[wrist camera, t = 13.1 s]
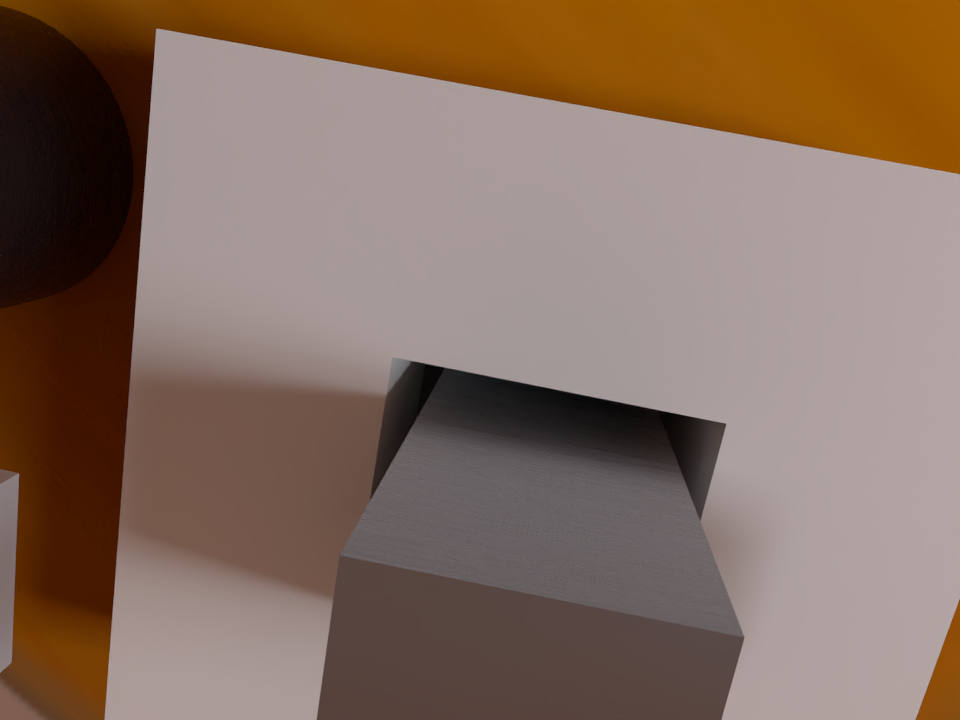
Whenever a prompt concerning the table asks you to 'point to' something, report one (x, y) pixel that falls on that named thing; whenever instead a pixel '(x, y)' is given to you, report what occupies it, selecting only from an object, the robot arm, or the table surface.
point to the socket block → (525, 364)
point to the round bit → (56, 162)
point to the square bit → (529, 570)
